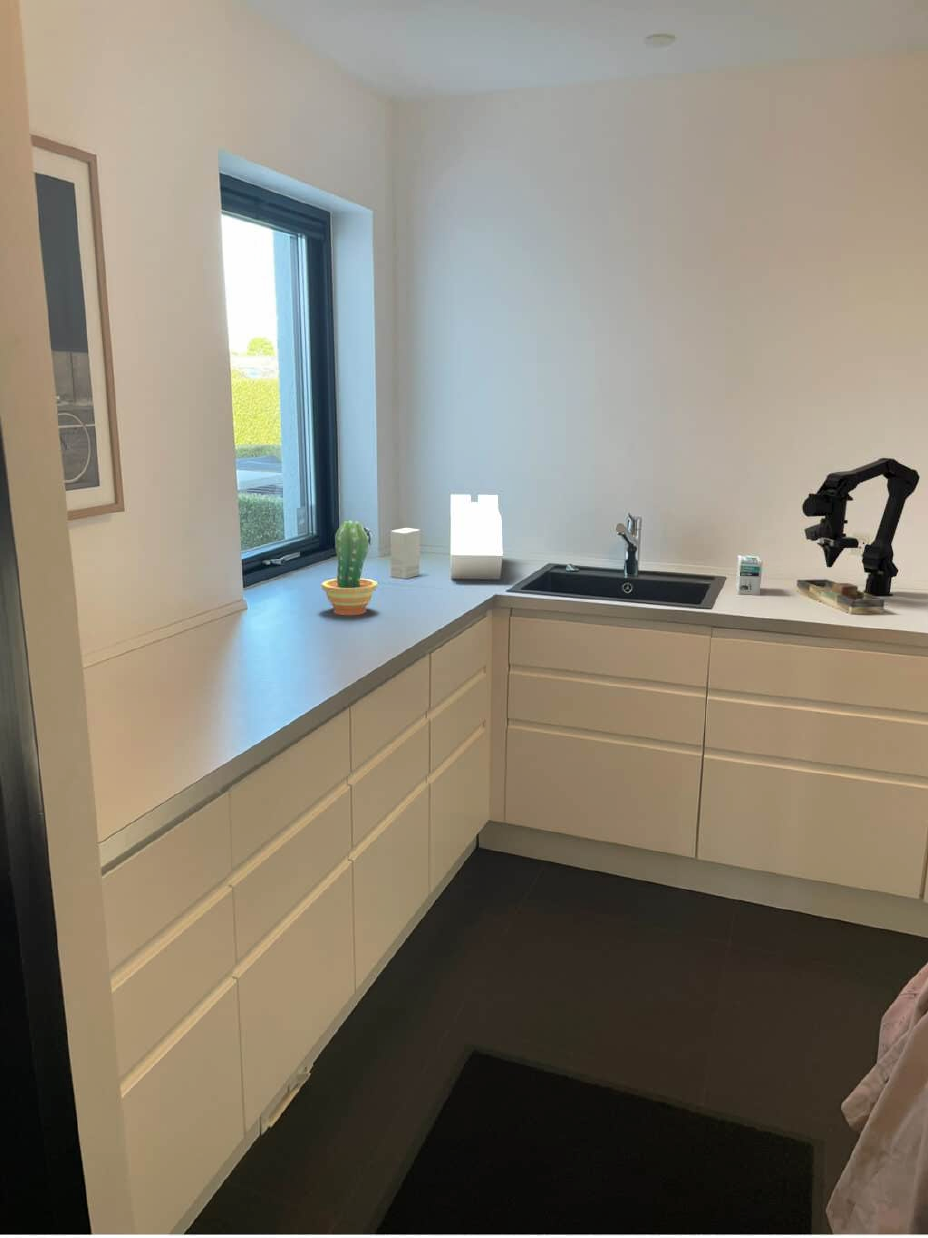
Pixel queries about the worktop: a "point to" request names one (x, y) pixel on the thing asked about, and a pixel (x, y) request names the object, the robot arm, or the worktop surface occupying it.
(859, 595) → the box
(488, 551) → the storage box
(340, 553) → the potted cactus
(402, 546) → the skincare box
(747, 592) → the light bulb box
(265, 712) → the worktop surface
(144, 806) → the worktop surface
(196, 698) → the worktop surface
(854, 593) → the walnut block
